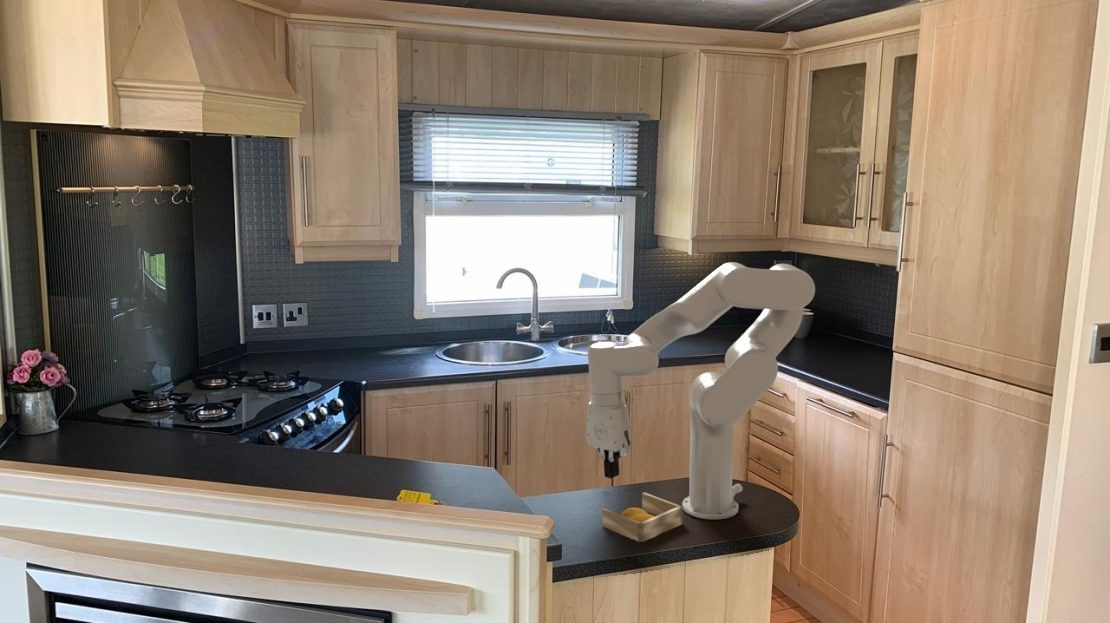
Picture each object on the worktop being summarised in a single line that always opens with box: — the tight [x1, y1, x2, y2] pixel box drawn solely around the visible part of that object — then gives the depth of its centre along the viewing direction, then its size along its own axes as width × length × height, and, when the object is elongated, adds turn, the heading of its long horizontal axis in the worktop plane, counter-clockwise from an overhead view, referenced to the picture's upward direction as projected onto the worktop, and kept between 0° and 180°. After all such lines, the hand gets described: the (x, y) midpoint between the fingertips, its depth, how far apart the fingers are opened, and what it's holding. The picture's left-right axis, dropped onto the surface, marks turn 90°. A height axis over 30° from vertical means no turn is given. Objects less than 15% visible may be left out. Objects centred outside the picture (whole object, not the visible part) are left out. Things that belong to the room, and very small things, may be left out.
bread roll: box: [620, 507, 656, 523], centre depth 187 cm, size 8×9×4 cm
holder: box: [602, 492, 684, 543], centre depth 189 cm, size 14×11×4 cm
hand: (612, 475), depth 195 cm, fingers closed
